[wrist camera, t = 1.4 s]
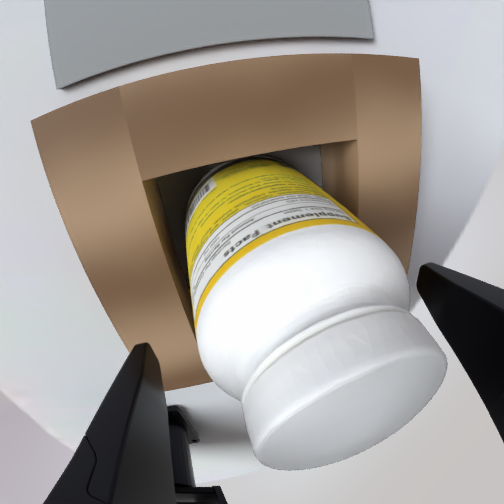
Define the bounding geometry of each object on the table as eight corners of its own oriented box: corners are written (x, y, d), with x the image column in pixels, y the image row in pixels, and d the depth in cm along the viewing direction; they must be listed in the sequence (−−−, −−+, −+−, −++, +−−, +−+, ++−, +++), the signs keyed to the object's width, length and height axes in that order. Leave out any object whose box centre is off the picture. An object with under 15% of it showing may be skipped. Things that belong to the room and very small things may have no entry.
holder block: (369, 289, 19) (396, 324, 16) (154, 346, 18) (155, 392, 15) (371, 58, 12) (418, 58, 9) (64, 110, 10) (30, 120, 7)
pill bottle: (308, 258, 17) (421, 433, 8) (194, 278, 16) (233, 496, 7) (311, 145, 14) (512, 283, 5) (175, 160, 13) (183, 385, 4)
